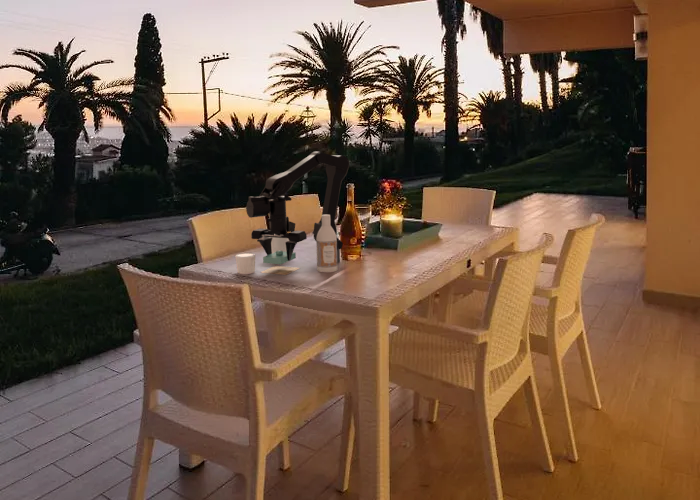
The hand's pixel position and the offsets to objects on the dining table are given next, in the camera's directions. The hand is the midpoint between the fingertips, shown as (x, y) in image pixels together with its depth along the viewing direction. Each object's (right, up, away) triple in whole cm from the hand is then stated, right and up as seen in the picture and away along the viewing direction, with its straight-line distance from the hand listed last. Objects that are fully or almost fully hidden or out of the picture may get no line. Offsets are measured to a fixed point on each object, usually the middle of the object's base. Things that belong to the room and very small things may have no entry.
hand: (279, 259), depth 207 cm
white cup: (-2, -1, +20) cm, 20 cm away
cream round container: (-11, -5, 0) cm, 13 cm away
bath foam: (+16, -5, +1) cm, 17 cm away
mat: (0, -5, +1) cm, 5 cm away
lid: (0, 0, 0) cm, 0 cm away
